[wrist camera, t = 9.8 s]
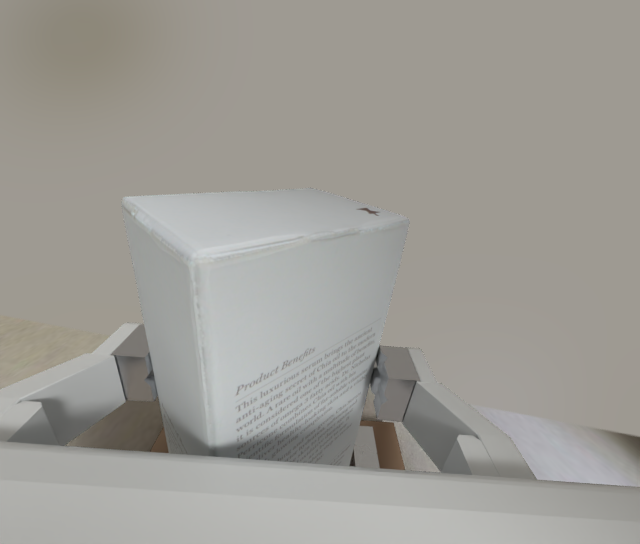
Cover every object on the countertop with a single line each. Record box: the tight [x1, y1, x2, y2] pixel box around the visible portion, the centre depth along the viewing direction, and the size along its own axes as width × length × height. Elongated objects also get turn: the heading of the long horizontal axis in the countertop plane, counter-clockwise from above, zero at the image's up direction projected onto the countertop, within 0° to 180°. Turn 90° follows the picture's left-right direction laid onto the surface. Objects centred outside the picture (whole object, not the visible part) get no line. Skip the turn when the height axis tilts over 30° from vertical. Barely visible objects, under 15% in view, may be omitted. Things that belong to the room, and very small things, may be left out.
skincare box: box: [122, 188, 409, 466], centre depth 10 cm, size 6×4×12 cm
